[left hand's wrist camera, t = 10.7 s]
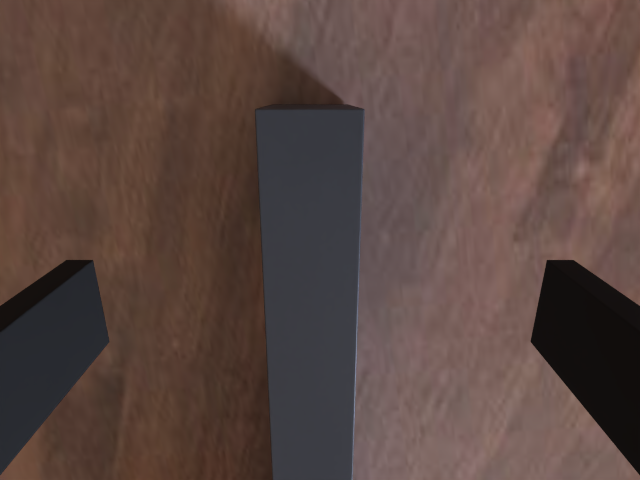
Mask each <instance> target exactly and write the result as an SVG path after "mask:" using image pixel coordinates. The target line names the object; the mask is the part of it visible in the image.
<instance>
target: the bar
mask: <svg viewBox="0 0 640 480" xmlns="http://www.w3.org/2000/svg"><path fill="white" fill-rule="evenodd" d="M255 121H256V142H257V163H258V184H259V205H260V226H261V247H262V268H263V289H264V309H265V330H266V351H267V372H268V393H269V414H270V435H271V456H272V477H273V480H352V477H353V446H354V415H355V385H356V354H357V323H358V293H359V262H360V231H361V201H362V170H363V139H364V109H362V108H358V107H355V106H351V105H269V106H265V107H262V108H258V109H255Z"/></svg>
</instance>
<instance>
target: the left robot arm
mask: <svg viewBox="0 0 640 480" xmlns="http://www.w3.org/2000/svg"><path fill="white" fill-rule="evenodd" d="M108 343H109V337H108V332H107V327H106V322H105V317H104V312H103V307H102V302H101V297H100V292H99V287H98V282H97V278H96V273H95V268H94V263H93V260H66V261H65V262H63V263H62V264H60V265H59V266H57V267H56V268H54V269H53V270H52V271H50V272H49V273H47V274H46V275H44V276H43V277H41V278H40V279H39V280H37V281H36V282H34V283H33V284H31V285H30V286H28V287H27V288H26V289H24V290H23V291H21V292H20V293H18V294H17V295H15V296H14V297H13V298H11V299H10V300H8V301H7V302H5V303H4V304H2V305H1V306H0V475H1V474H2V472H3V471H4V470H5V469H6V467H7V466H8V465H9V464H10V463H11V461H12V460H13V459H14V458H15V456H16V455H17V454H18V453H19V452H20V450H21V449H22V448H23V447H24V445H25V444H26V443H27V442H28V441H29V439H30V438H31V437H32V436H33V434H34V433H35V432H36V431H37V430H38V428H39V427H40V426H41V425H42V423H43V422H44V421H45V420H46V419H47V417H48V416H49V415H50V414H51V412H52V411H53V410H54V409H55V408H56V406H57V405H58V404H59V403H60V401H61V400H62V399H63V398H64V397H65V395H66V394H67V393H68V392H69V390H70V389H71V388H72V387H73V386H74V384H75V383H76V382H77V381H78V379H79V378H80V377H81V376H82V375H83V373H84V372H85V371H86V370H87V368H88V367H89V366H90V365H91V364H92V362H93V361H94V360H95V359H96V357H97V356H98V355H99V354H100V353H101V351H102V350H103V349H104V348H105V346H106V345H107V344H108ZM531 343H532V344H533V345H534V346H535V348H536V349H537V350H538V351H539V353H540V354H541V355H542V356H543V357H544V359H545V360H546V361H547V362H548V364H549V365H550V366H551V367H552V368H553V370H554V371H555V372H556V373H557V375H558V376H559V377H560V378H561V379H562V381H563V382H564V383H565V384H566V386H567V387H568V388H569V389H570V390H571V392H572V393H573V394H574V395H575V397H576V398H577V399H578V400H579V401H580V403H581V404H582V405H583V406H584V408H585V409H586V410H587V411H588V412H589V414H590V415H591V416H592V417H593V419H594V420H595V421H596V422H597V423H598V425H599V426H600V427H601V428H602V430H603V431H604V432H605V433H606V434H607V436H608V437H609V438H610V439H611V441H612V442H613V443H614V444H615V445H616V447H617V448H618V449H619V450H620V452H621V453H622V454H623V455H624V456H625V458H626V459H627V460H628V461H629V463H630V464H631V465H632V466H633V467H634V469H635V470H636V471H637V472H638V474H639V475H640V306H639V305H638V304H636V303H635V302H633V301H632V300H630V299H629V298H627V297H626V296H625V295H623V294H622V293H620V292H619V291H617V290H616V289H614V288H613V287H612V286H610V285H609V284H607V283H606V282H604V281H603V280H601V279H600V278H599V277H597V276H596V275H594V274H593V273H591V272H590V271H588V270H587V269H586V268H584V267H583V266H581V265H580V264H578V263H577V262H575V261H574V260H547V263H546V268H545V273H544V278H543V282H542V287H541V292H540V297H539V302H538V307H537V312H536V317H535V322H534V327H533V332H532V337H531Z"/></svg>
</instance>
